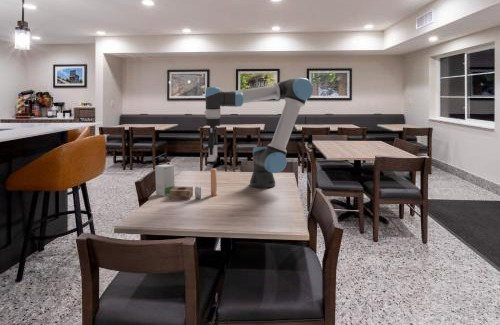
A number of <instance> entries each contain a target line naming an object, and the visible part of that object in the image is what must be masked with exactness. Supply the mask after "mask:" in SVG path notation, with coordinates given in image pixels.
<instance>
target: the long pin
mask: <svg viewBox="0 0 500 325" xmlns="http://www.w3.org/2000/svg"><path fill="white" fill-rule="evenodd" d="M217 180H218V179H217V168H210V196H211V197H212V196H213V197H216V196H217V183H218V182H217Z"/></svg>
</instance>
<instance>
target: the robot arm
mask: <svg viewBox="0 0 500 325" xmlns="http://www.w3.org/2000/svg"><path fill="white" fill-rule="evenodd" d="M313 87H314V86H313V85H312V82H311V81H310V80H309V78H304V77H297V78H291V79H290V78H289V79H287V80H283V81H278V82H275V83H273V84H272V85H266V86H259V87H252V88H245V89H239V90H230V91H222V90H221V87H219V86H218V87H216V86H209V87H206V89H205V94H204V95H205V96H204V97H205V111H204V114H205V126H206V127H209V128H208V141H207V142H208V143H207V144H208V145H207V146H206V149H208V162H215V158H218V146H219V143H218V127H220V126H221V107H223V108H224V107H230V108H231V107H234V108H235V107H236V108H237V107H242V106H243V105H244V104H248V103H249V104H250V103H255V102H260V101H267V100H274V99H275V100H276V101H280V100H284V102H285V104H284V107H283V109H282V112H281V115H280V118H279V120H278V123H277V126H276V129H275V131H274V134H273V137H272V140H271V142H270V143H269V144H267V146H256V147H253V148H252V174H251V177H250V180H249V186H250V187H253V188H256V187H257V189H268V187H270V188H273V186H274V187H275V186H276V179H275V177H274V174H278V173H280V172H282V171H284V170H285V168H286V167H287V161H288V160H287V157H286V156H287V154H288V152H287V151H288V150H287V149H286V148H287V146H288V143H289V141H290V137H291V134H292V133H293V129H294V126H295V124H296V121H297V119H298V116H299V113H300V109H301V108H302V107H305V104H306V102H307V100H309V99H310V98H311V97H312V95H313V92H314V88H313Z"/></svg>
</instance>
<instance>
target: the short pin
mask: <svg viewBox="0 0 500 325" xmlns="http://www.w3.org/2000/svg"><path fill="white" fill-rule="evenodd" d="M194 199H195V200H197V201H198V200H202V187H201V186H195V187H194Z"/></svg>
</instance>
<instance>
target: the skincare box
mask: <svg viewBox="0 0 500 325" xmlns="http://www.w3.org/2000/svg"><path fill="white" fill-rule="evenodd" d="M154 170H155V172H154V173H155V174H154V175H155V195H156V196H162V197H166V196H170V190H171V189H172V188H173V187H174V186H176V185H175V164H167V163H165V164H159V165H155V166H154Z"/></svg>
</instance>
